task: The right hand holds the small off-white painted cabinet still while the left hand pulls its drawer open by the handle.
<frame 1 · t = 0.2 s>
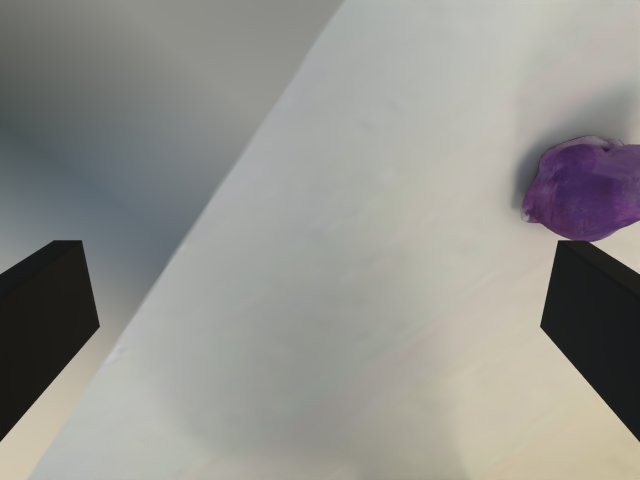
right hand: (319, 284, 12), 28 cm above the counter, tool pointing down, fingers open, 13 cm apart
figurine: (576, 173, 39), on the counter
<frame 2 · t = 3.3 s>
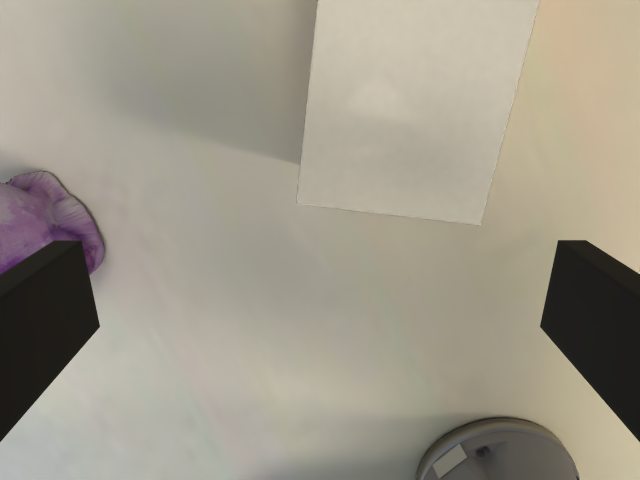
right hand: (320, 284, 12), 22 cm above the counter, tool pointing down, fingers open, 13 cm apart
figurine: (46, 227, 34), on the counter
cabinet: (389, 48, 30), on the counter
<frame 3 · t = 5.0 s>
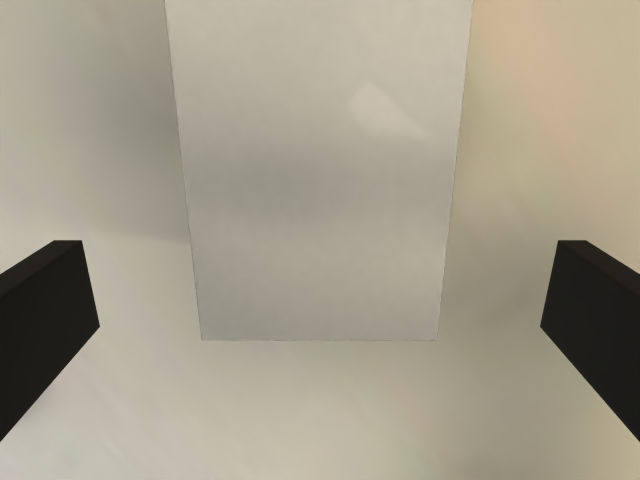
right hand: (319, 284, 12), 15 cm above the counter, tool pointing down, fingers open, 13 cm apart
cabinet: (319, 109, 25), on the counter
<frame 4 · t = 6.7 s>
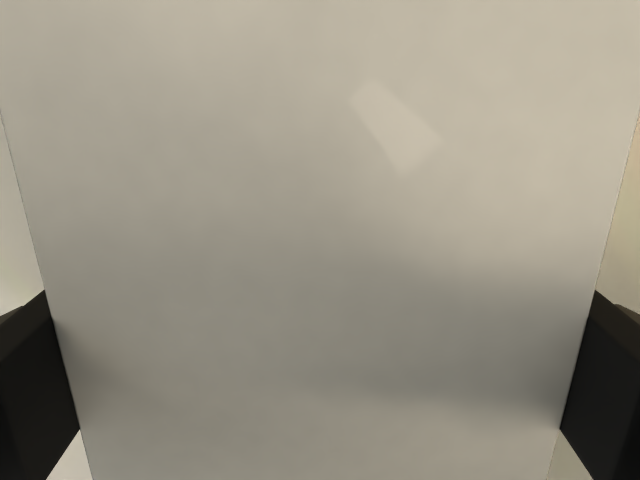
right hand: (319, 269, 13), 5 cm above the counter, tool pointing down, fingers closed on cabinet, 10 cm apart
cabinet: (320, 117, 17), on the counter, touching right hand
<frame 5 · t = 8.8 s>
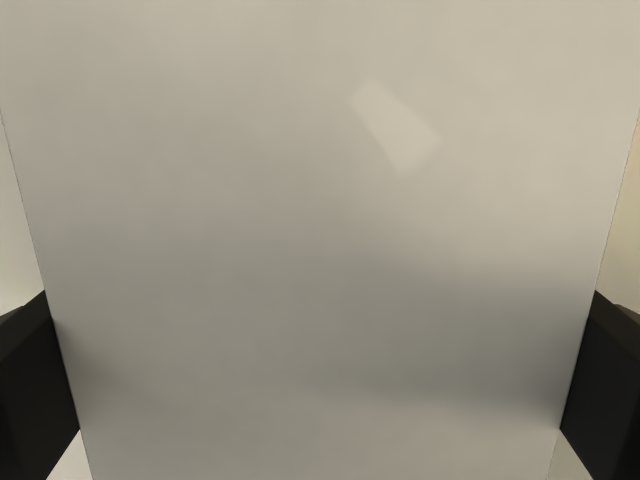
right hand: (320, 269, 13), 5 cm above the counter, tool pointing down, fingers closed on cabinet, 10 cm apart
cabinet: (320, 117, 17), on the counter, touching right hand
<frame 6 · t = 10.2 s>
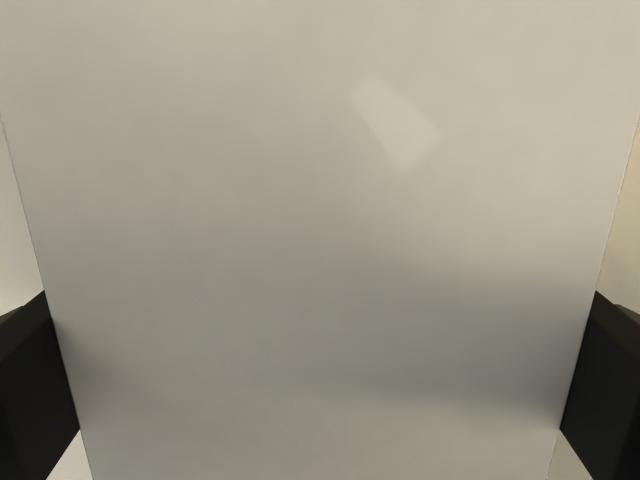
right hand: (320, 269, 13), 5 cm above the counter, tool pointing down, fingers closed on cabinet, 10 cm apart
cabinet: (320, 116, 17), on the counter, touching right hand
when the right hand's fingers open (5 cm above the counter, at t = 11.3 s): cabinet stays where it is, on the counter.
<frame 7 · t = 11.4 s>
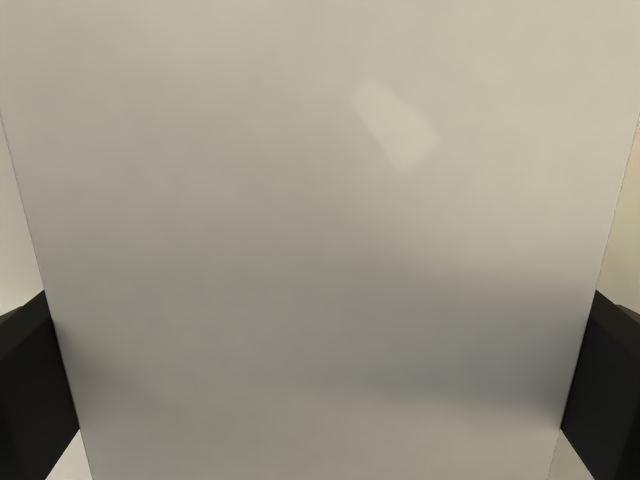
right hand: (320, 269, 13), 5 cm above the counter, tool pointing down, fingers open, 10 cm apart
cabinet: (320, 116, 17), on the counter
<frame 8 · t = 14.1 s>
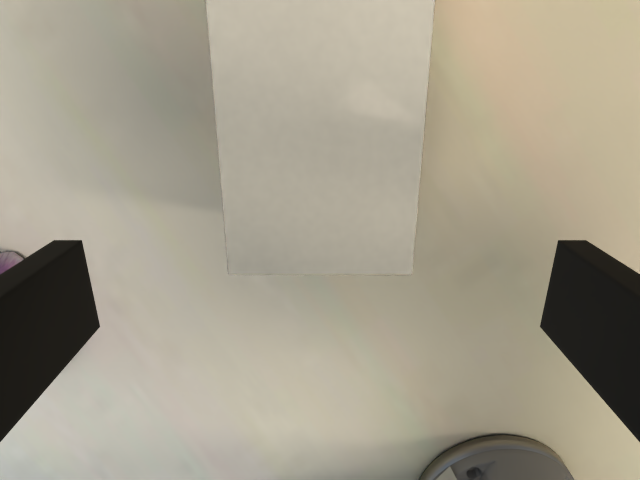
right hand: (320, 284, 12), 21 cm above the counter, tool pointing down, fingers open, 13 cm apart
figurine: (20, 301, 36), on the counter
cabinet: (320, 96, 30), on the counter
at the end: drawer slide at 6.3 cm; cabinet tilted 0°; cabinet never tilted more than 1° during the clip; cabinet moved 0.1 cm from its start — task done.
